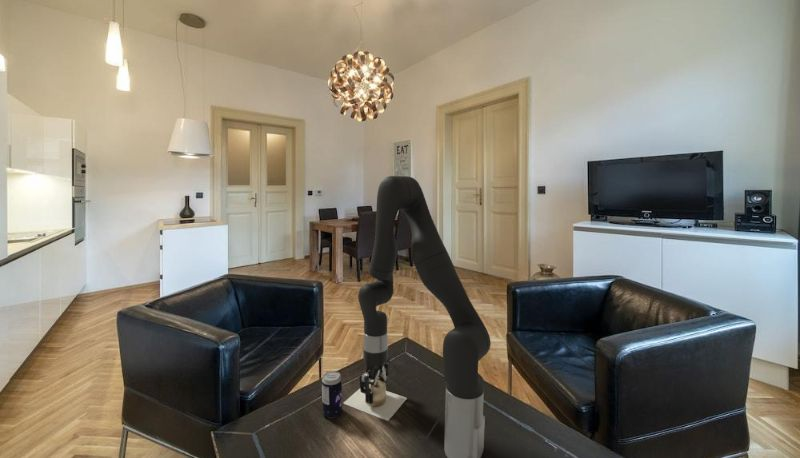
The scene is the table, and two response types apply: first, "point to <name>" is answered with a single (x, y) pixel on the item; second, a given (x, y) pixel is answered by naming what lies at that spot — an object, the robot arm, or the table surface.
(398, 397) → the mat
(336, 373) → the beverage can
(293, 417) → the table surface
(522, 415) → the table surface
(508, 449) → the table surface
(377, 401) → the lid
